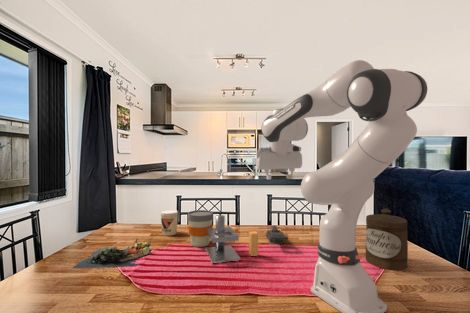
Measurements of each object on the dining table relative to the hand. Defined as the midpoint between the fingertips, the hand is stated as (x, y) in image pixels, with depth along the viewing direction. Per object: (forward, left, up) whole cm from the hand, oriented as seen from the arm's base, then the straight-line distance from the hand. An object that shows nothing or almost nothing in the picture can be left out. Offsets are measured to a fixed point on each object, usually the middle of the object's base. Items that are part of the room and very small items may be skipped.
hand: (278, 178), depth 113 cm
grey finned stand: (+6, +24, -33) cm, 41 cm away
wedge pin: (+2, +11, -33) cm, 35 cm away
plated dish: (+17, +66, -34) cm, 76 cm away
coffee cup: (+43, +45, -34) cm, 71 cm away
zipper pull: (+15, -6, -34) cm, 37 cm away
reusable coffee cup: (+23, +31, -34) cm, 51 cm away
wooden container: (-19, -39, -34) cm, 55 cm away
